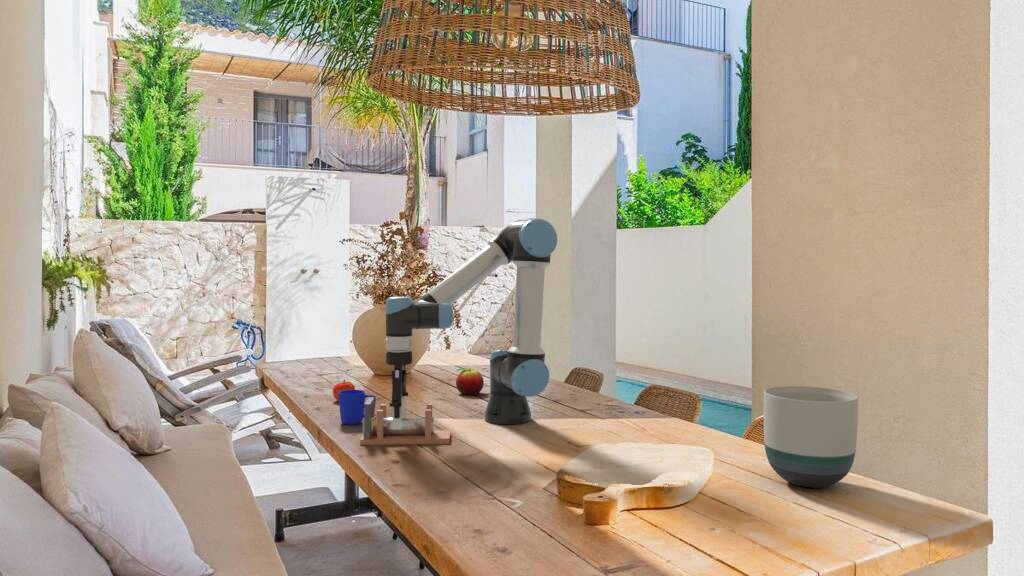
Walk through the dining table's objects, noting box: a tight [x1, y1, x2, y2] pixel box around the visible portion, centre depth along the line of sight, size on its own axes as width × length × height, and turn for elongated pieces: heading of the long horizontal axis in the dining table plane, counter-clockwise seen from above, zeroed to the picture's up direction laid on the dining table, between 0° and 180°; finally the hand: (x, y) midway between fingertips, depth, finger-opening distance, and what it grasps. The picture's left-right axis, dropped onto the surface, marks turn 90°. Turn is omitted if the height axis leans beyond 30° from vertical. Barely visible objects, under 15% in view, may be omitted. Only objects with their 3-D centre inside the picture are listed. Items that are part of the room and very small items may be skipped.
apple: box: [332, 379, 356, 402], centre depth 269 cm, size 8×8×8 cm
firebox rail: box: [359, 397, 451, 446], centre depth 212 cm, size 25×10×12 cm, turn 94°
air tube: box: [362, 416, 435, 435], centre depth 212 cm, size 20×5×5 cm, turn 94°
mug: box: [338, 389, 377, 426], centre depth 233 cm, size 8×12×10 cm
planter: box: [763, 385, 859, 489], centre depth 172 cm, size 20×20×21 cm
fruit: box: [455, 367, 485, 396], centre depth 284 cm, size 11×11×10 cm
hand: (399, 423), depth 212 cm, fingers open, 13 cm apart
